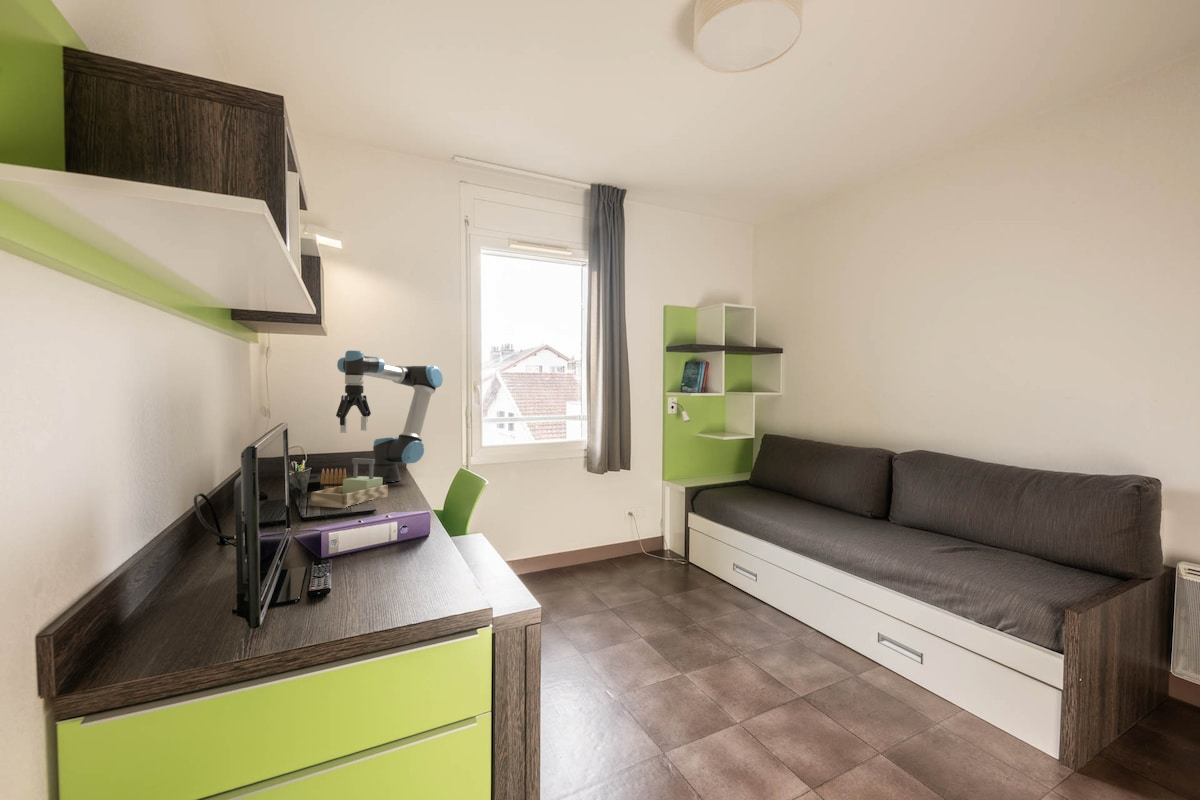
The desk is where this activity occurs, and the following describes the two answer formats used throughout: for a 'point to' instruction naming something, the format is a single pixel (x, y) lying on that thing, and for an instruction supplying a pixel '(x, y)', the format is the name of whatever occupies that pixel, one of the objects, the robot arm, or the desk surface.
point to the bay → (346, 496)
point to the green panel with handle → (361, 478)
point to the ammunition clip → (332, 479)
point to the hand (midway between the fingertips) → (354, 431)
